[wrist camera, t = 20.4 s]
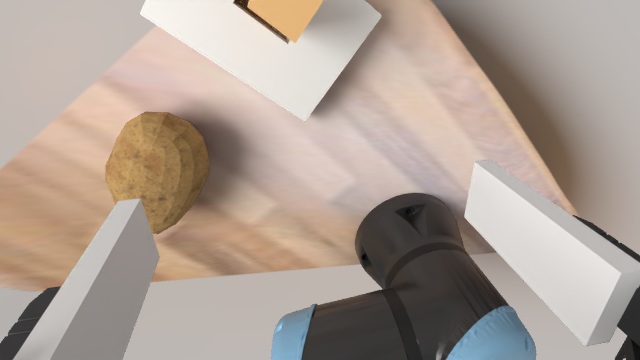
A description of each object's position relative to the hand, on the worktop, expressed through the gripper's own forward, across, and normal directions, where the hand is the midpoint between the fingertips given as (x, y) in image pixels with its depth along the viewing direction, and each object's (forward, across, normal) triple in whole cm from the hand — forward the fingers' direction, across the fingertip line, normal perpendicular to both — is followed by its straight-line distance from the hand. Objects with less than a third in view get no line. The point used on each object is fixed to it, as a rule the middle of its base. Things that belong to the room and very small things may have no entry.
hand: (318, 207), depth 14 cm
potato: (+28, +14, +8) cm, 32 cm away
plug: (+27, -1, -8) cm, 28 cm away
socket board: (+27, +1, -6) cm, 28 cm away
